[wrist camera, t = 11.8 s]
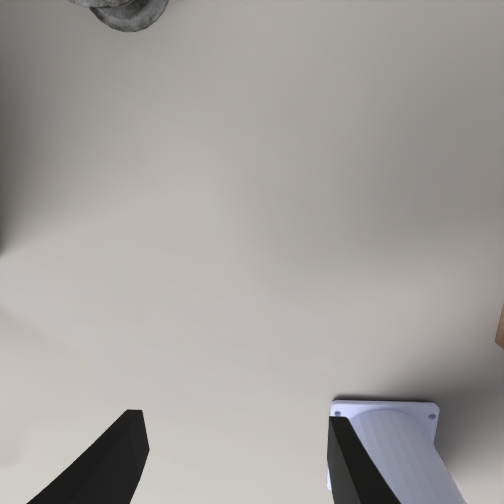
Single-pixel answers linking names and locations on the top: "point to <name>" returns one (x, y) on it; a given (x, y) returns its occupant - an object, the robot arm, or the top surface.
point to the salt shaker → (125, 12)
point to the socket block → (501, 331)
